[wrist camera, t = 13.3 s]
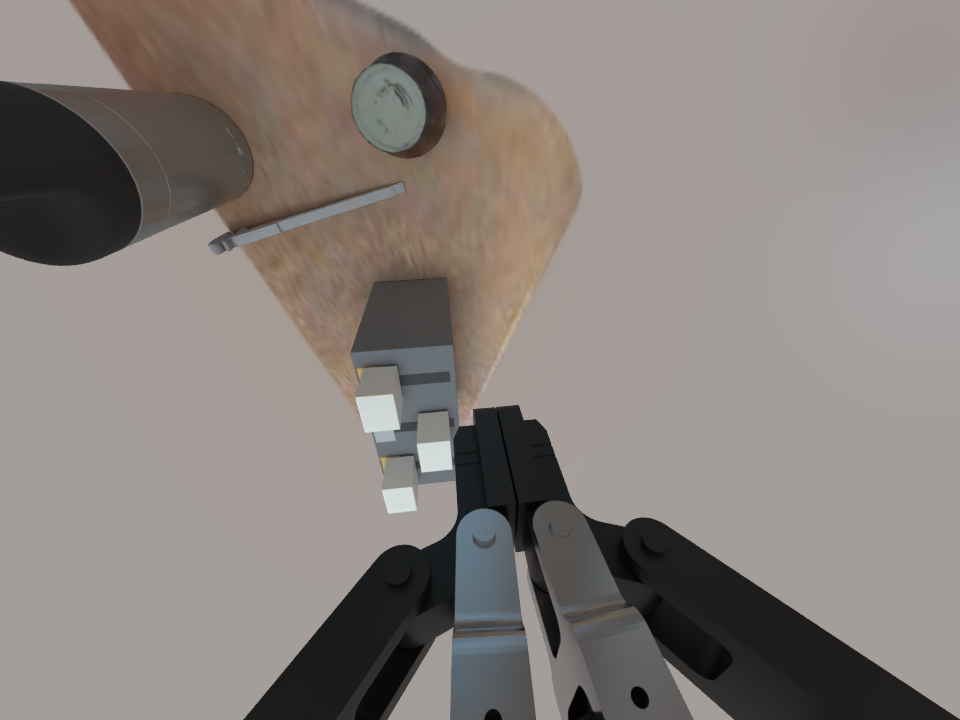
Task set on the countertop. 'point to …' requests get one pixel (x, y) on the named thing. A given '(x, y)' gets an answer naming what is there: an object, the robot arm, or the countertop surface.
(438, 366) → the switch box
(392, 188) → the caliper
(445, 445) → the tab middle
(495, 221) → the countertop surface
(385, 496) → the tab back
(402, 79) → the sauce bottle
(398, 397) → the tab front
